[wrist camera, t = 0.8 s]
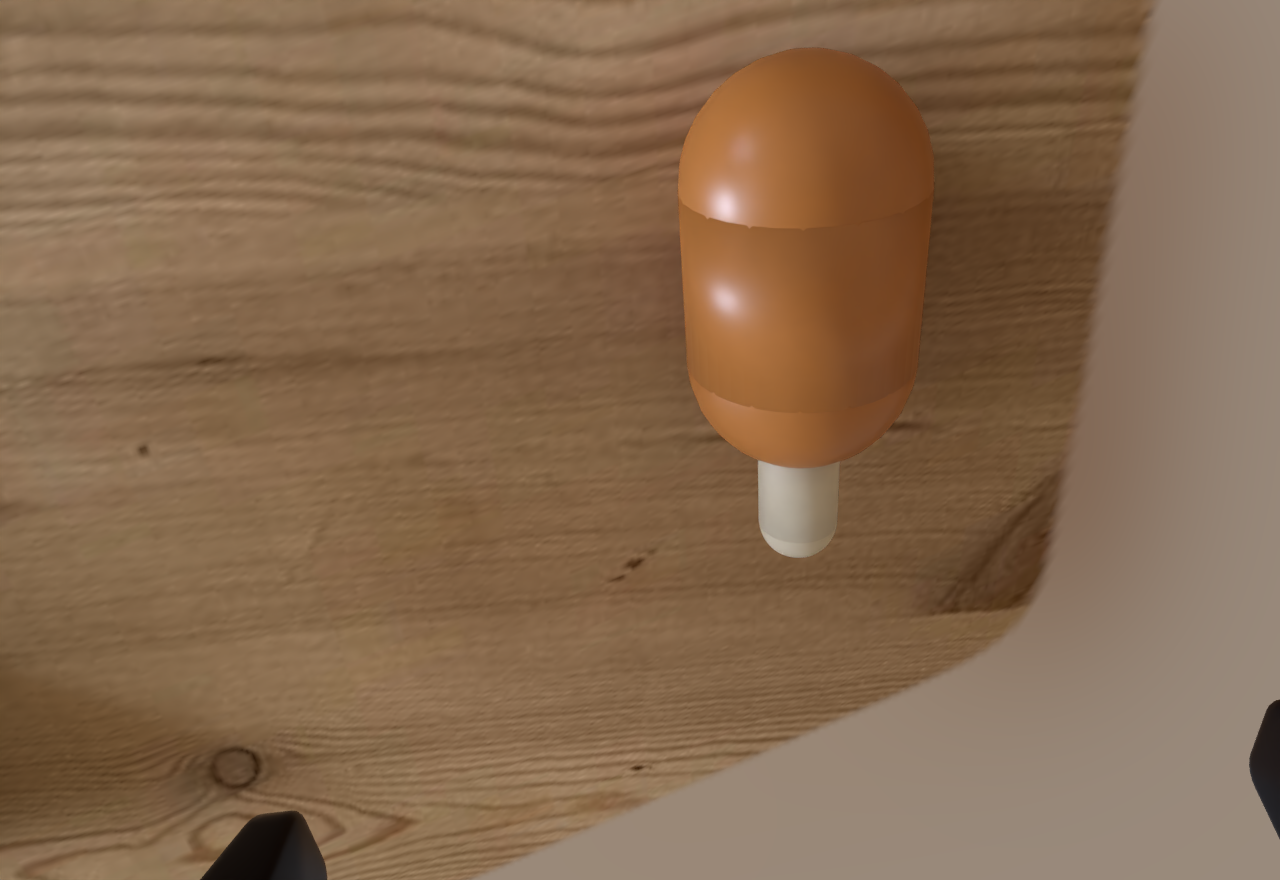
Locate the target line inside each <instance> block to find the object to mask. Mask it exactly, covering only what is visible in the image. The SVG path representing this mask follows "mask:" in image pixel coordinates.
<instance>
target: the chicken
mask: <svg viewBox="0 0 1280 880" xmlns="http://www.w3.org/2000/svg"><path fill="white" fill-rule="evenodd" d="M934 184H935V182H934V154H933V150H932V146H931V141H930V137H929V132H928V129H927V127H926V125H925V123H924V121H923V119H922V116H921V114H920V112H919V110H918V108H917V106H916V105H915V104H914V103H913V101H912V100H911V99H910V97H909V96H908V95H907V93H906V92H905V91H904V90H903V88H902V87H901V86H900V85H899V83H898V82H896V81H895V80H894V79H893V78H891V77H890V76H889V75H888V74H887V73H885V72H884V71H883V70H882V69H880V68H879V67H877V66H875V65H874V64H871V63H869V62H867V61H865V60H863V59H861V58H859V57H857V56H855V55H853V54H849V53H845V52H840V51H835V50H830V49H825V48H797V49H790V50H786V51H782V52H779V53H776V54H773V55H769V56H766V57H763V58H760V59H758V60H756V61H755V62H753V63H751V64H749V65H748V66H746V67H744V68H743V69H741V70H739V71H738V72H736V73H734V74H733V75H732V76H731V77H730V78H728V79H727V80H726V81H725V82H724V83H723V84H722V85H721V86H720V87H719V88H717V89H716V90H715V91H714V92H713V94H712V95H711V97H710V98H709V99H708V101H707V102H706V103H705V105H704V106H703V107H702V109H701V110H700V112H699V113H698V114H697V116H696V117H695V119H694V122H693V124H692V126H691V128H690V130H689V132H688V134H687V137H686V139H685V142H684V146H683V150H682V154H681V158H680V162H679V181H678V207H679V225H680V243H681V262H682V280H683V298H684V316H685V334H686V352H687V367H688V373H689V378H690V384H691V387H692V389H693V392H694V394H695V396H696V399H697V401H698V404H699V406H700V409H701V411H702V413H703V414H704V415H705V417H706V418H707V420H708V421H709V422H710V424H711V425H712V426H713V428H714V429H715V430H716V431H717V432H718V434H719V435H720V436H722V437H723V438H724V439H725V440H726V441H728V442H729V443H730V444H731V445H733V446H734V447H735V448H737V449H738V450H739V451H741V452H742V453H744V454H746V455H748V456H751V457H753V458H755V459H758V510H759V526H760V530H761V532H762V535H763V537H764V539H765V540H766V542H767V543H768V544H769V545H770V547H772V548H773V549H774V550H776V551H777V552H778V553H780V554H782V555H785V556H788V557H794V558H804V557H809V556H812V555H815V554H817V553H818V552H820V551H821V550H823V549H824V548H825V547H826V546H827V545H828V544H829V542H830V541H831V540H832V538H833V536H834V533H835V531H836V526H837V518H838V496H839V473H840V461H842V460H845V459H848V458H850V457H852V456H854V455H857V454H858V453H860V452H861V451H863V450H864V449H866V448H867V447H869V446H870V445H871V444H873V443H874V442H875V441H877V440H878V439H879V438H881V437H882V436H883V435H884V433H885V432H886V431H887V430H888V429H889V428H890V427H891V425H892V424H893V423H894V422H895V420H896V419H897V418H898V417H899V415H900V414H901V412H902V410H903V408H904V406H905V404H906V402H907V399H908V397H909V395H910V393H911V391H912V388H913V386H914V382H915V377H916V373H917V368H918V360H919V349H920V338H921V327H922V316H923V305H924V294H925V284H926V273H927V262H928V251H929V240H930V229H931V218H932V207H933V196H934Z"/></svg>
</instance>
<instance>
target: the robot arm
mask: <svg viewBox="0 0 1280 880" xmlns="http://www.w3.org/2000/svg"><path fill="white" fill-rule="evenodd" d="M1249 763H1250V764H1249V767H1250V774H1251V777H1252V781H1253V783H1254V786H1255V788H1256V790H1257V792H1258V795H1259V796H1260V799H1261V801H1262V803H1263V805H1264V807H1265V809H1266V811H1267V813H1268V815H1269V818H1270V820H1271V822H1272V824H1273V826H1274V828H1275V830H1276V832H1277V834H1278V837H1279V839H1280V700H1276V701H1274V702H1273V703H1272V704H1271V705H1269V707H1268V709H1267V710H1266V713H1265V716H1264V718H1263V721H1262V724H1261V727H1260V730H1259V732H1258V735H1257V738H1256V740H1255V743H1254V746H1253V749H1252V751H1251V754H1250V762H1249ZM200 880H327V871H326V866H325V862H324V859H323V857H322V855H321V853H320V850H319V848H318V846H317V844H316V842H315V840H314V837H313V835H312V833H311V831H310V829H309V827H308V824H307V822H306V820H305V819H304V817H303V815H302V814H300V813H299V812H297V811H283V812H274V813H265V814H261V815H257V816H255V817H254V818H252V819H251V820H250V821H249V822H248V823H247V824H246V825H245V826H244V827H243V828H242V829H241V831H240V832H239V833H238V834H237V836H236V837H235V838H234V839H233V840H232V842H231V843H230V844H229V845H228V847H227V848H226V849H225V850H224V851H223V853H222V854H221V855H220V856H219V857H218V859H217V860H216V861H215V862H214V864H213V865H212V866H211V867H210V868H209V870H208V871H207V872H206V873H205V874H204V876H203V877H202V878H201V879H200Z"/></svg>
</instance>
